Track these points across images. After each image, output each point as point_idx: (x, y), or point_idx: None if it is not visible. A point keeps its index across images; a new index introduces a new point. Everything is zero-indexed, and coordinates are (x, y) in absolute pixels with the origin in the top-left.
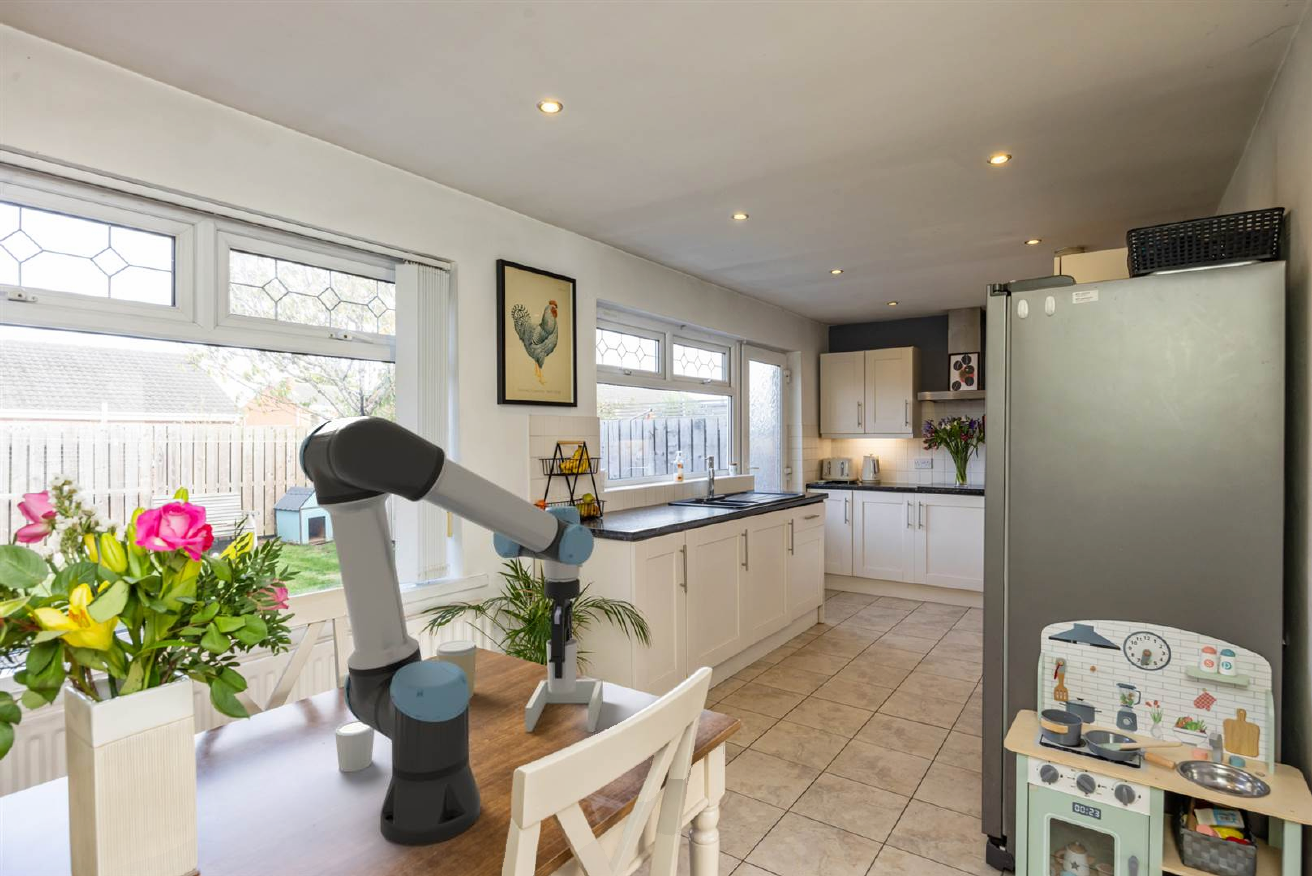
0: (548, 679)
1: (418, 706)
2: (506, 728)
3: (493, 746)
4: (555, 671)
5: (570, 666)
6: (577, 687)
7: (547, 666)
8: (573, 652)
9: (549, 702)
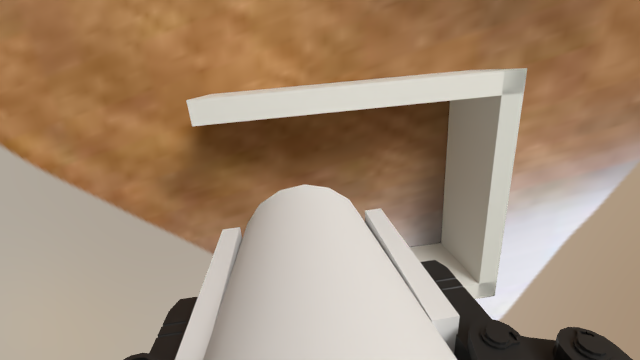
0: (271, 217)
1: None
2: (230, 9)
3: (73, 11)
4: (158, 340)
5: None
6: (472, 212)
7: (275, 251)
8: None
9: (450, 104)
